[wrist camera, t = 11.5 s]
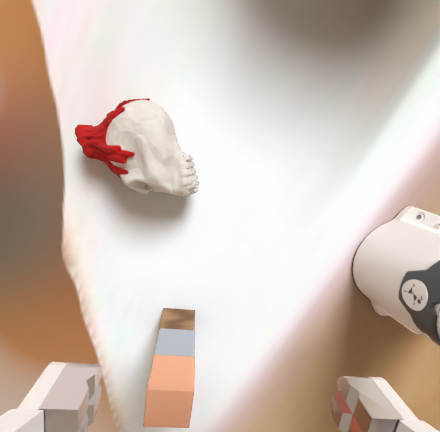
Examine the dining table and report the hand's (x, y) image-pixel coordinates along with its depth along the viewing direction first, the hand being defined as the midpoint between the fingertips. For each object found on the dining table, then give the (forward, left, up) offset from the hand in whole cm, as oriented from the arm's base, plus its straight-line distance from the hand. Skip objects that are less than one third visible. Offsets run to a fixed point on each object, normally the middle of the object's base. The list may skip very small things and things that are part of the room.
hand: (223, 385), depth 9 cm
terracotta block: (+2, +20, -21) cm, 29 cm away
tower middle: (+2, +20, -26) cm, 33 cm away
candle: (+9, -7, -31) cm, 33 cm away
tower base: (+2, +20, -31) cm, 37 cm away
